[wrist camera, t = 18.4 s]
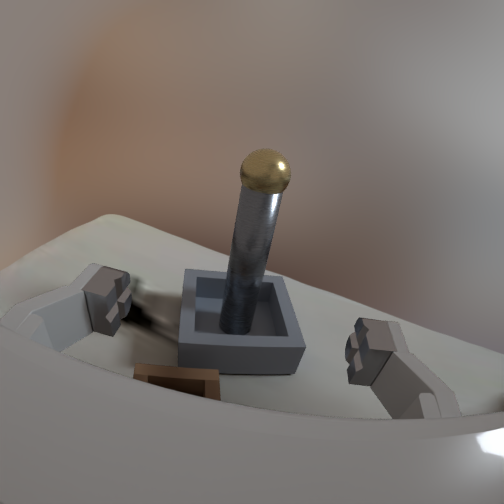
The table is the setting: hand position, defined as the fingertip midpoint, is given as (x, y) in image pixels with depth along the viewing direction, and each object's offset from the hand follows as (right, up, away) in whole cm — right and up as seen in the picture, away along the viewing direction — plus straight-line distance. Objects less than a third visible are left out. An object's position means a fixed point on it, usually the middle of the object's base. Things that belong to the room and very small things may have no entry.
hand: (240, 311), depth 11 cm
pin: (-1, -5, +18) cm, 19 cm away
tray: (-1, -6, +19) cm, 20 cm away
